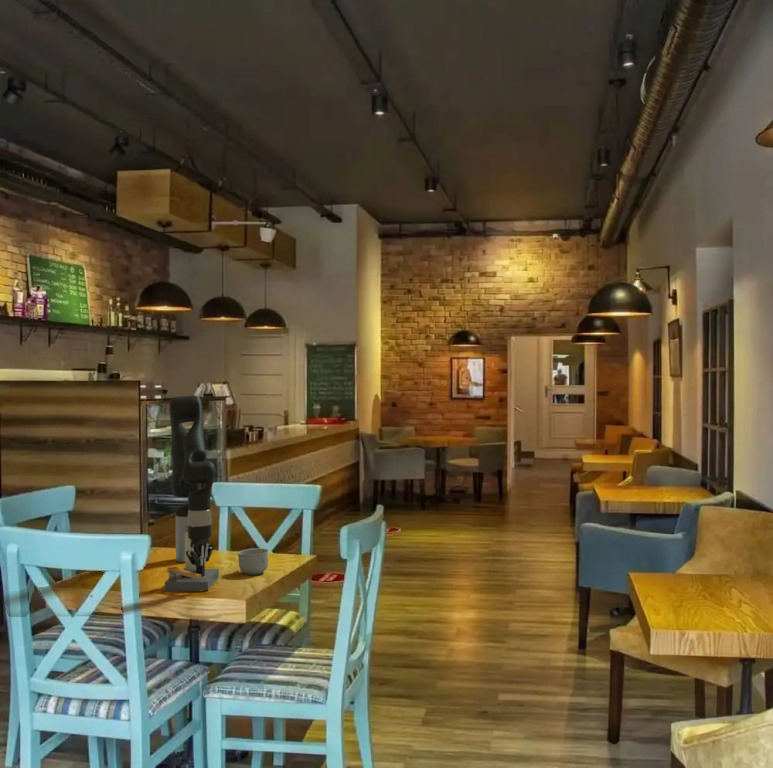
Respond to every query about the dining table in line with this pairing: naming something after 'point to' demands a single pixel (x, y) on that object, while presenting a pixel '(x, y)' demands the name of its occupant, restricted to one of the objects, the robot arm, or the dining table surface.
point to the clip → (184, 572)
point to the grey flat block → (191, 581)
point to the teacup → (253, 560)
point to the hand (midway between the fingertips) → (200, 576)
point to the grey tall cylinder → (187, 562)
